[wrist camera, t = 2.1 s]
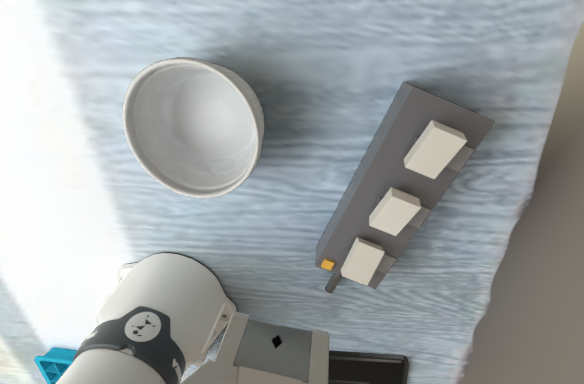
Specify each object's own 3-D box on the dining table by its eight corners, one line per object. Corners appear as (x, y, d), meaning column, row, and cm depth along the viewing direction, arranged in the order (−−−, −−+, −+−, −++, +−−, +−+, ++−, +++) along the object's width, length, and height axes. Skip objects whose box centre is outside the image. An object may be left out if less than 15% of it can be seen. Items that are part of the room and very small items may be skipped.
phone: (312, 353, 48) (409, 360, 46) (313, 347, 49) (407, 353, 47) (314, 383, 51) (404, 391, 49) (315, 377, 52) (403, 384, 50)
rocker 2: (394, 226, 32) (395, 236, 30) (369, 216, 31) (369, 225, 30) (419, 198, 29) (421, 207, 28) (391, 187, 29) (392, 196, 27)
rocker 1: (364, 279, 34) (367, 285, 33) (340, 269, 34) (342, 276, 32) (381, 246, 33) (384, 252, 32) (356, 236, 33) (359, 241, 31)
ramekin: (258, 187, 37) (242, 215, 30) (155, 154, 36) (119, 176, 30) (287, 78, 30) (275, 86, 24) (165, 37, 30) (121, 35, 24)
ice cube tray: (154, 392, 61) (145, 407, 58) (64, 378, 63) (53, 393, 60) (142, 355, 56) (133, 370, 53) (45, 342, 58) (32, 356, 55)
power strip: (355, 291, 42) (357, 318, 38) (303, 271, 41) (299, 296, 37) (475, 112, 30) (498, 123, 25) (403, 81, 29) (414, 87, 25)
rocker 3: (431, 170, 28) (434, 179, 27) (403, 159, 28) (404, 167, 27) (463, 133, 26) (467, 140, 24) (431, 119, 25) (434, 127, 24)
